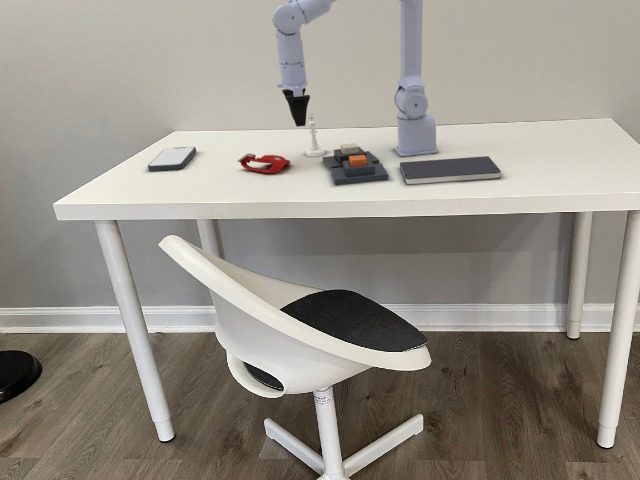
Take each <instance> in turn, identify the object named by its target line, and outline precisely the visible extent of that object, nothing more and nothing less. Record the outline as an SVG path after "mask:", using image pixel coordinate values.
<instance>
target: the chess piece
mask: <svg viewBox="0 0 640 480" xmlns="http://www.w3.org/2000/svg"><path fill="white" fill-rule="evenodd" d="M307 119H308V120H310V121H308V123H307V124H308V126H309V128H310V130H309V131H308V133H309V134H311V146H310V148H309V149H307V150H306V151H305V155H306V156H309V157H318V156H323V155H324V154H326V151H325V149H324V148H321V147H320V146H319V144H318V140H317V135H316V134H317V133H318V130H316V126H317V122H316V121H315V120H316V116H313V113H311V114H310V115H309V116H307Z"/></svg>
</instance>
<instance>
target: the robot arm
mask: <svg viewBox="0 0 640 480" xmlns="http://www.w3.org/2000/svg"><path fill="white" fill-rule="evenodd" d="M336 1H337V0H287V2H288V4H281V5H278V6H277V7H276V8H275V10H274V12H273V15H272V19H271V20H272V23H273V25H274V27H275V28H276V33H275V36H276V40H277V41H276V47H277V56H278V64H279V70H280V79H281V82H277V83H276V87H277V88H283V89H282V90H281V92H282V93H283V95H284V98H285V100H286V102H287V104H288V108H289V111H290V114H291V117H292V119H293V120H294V124H295V126H296V128H297V127H299V128H300V127H306V124H307V113H308V112H307V111H308V110H307V109H308V106H309V102H310V99H311V95H310V94H306V90H307V89H306V87H307V86H309V83H308V81H307V73H306V71H307V70H306V64H305V55H304V45H303V39H302V35H301V28H302V25H304V26H305V25H308V24H310V23H311V22H313V21H315V20H317V19H319V18H320V17H322V16H324V15H326V14H328V13H329V12H330V11H331V7H332V5H333V3H334V2H336ZM396 1H397V2H398V3H399V5H400V75H399V78H398V81H397V89H396V92H395V94H394V104H395V106H396V107H397V109H398V112H397V114H396V127H397V145H398V146H394V147H393V149H394V150H395V152H396V153H397V154H398V155H399V156H400V157H410V156H419V155H426V154H437V153H438V150H437V124H436V119H435V116H434V115H433V114H427V113H426V112H427V111H428V106H429V101H428V98H427V95H426V93H425V84H424V80H423V78H422V56H423V54H422V53H423V52H422V51H423V4H424V3H423V0H396Z"/></svg>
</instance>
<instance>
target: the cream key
mask: <svg viewBox="0 0 640 480" xmlns="http://www.w3.org/2000/svg"><path fill="white" fill-rule="evenodd" d="M339 147H340V149H341V152H342V153H343V154H352V153H359V147H360V146H359V145H357V144H356V143H355V142H351V143H344V144H340V146H339Z"/></svg>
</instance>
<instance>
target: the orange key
mask: <svg viewBox="0 0 640 480" xmlns="http://www.w3.org/2000/svg"><path fill="white" fill-rule="evenodd" d="M349 163H350V166H351V167H357V166H367V159H366V157H365V155H358V156H349Z"/></svg>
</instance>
